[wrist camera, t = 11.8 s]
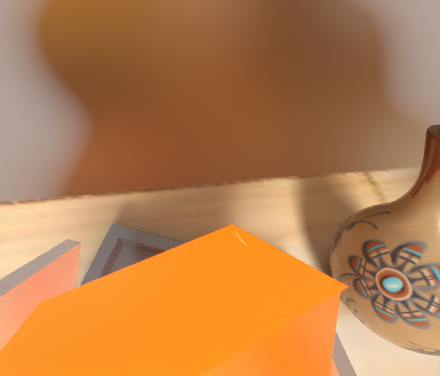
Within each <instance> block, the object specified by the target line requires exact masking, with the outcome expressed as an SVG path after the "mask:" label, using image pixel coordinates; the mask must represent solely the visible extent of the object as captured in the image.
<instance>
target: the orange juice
mask: <svg viewBox="0 0 440 376" xmlns="http://www.w3.org/2000/svg"><path fill="white" fill-rule="evenodd" d="M347 287H348V286H346V285H344V284H343V283H341V282H339V281H337V280H335V279H333V278H331V277H330V276H328V275H326V274H324V273H322V272H320V271H318V270H317V269H315V268H313V267H311V266H309V265H307V264H305V263H304V262H302V261H300V260H298V259H296V258H294V257H292V256H291V255H289V254H287V253H285V252H283V251H281V250H279V249H278V248H276V247H274V246H272V245H270V244H268V243H267V242H265V241H263V240H261V239H259V238H257V237H255V236H254V235H252V234H250V233H248V232H246V231H244V230H242V229H241V228H239V227H237V226H235V225H233V224H232V225H229V226H227V227H224V228H222V229H219V230H217V231H214V232H212V233H210V234H207V235H205V236H202V237H200V238H197V239H195V240H192V241H190V242H187V243H185V244H183V245H180V246H178V247H175V248H173V249H170V250H168V251H165V252H163V253H160V254H158V255H156V256H153V257H151V258H148V259H146V260H143V261H141V262H138V263H136V264H134V265H131V266H129V267H126V268H124V269H121V270H119V271H116V272H114V273H111V274H109V275H107V276H104V277H102V278H99V279H97V280H94V281H92V282H89V283H87V284H84V285H82V286H80V287H77V288H75V289H72V290H70V291H67V292H65V293H62V294H60V295H57V296H55V297H53V298H50V299H48V300H45V301H43V302H40V303H39V305H38V306H37V307H36V308H35V309H34V311H33V312H32V313H31V314H30V315H29V317H28V318H27V319H26V320H25V322H24V323H23V324H22V325H21V326H20V328H19V329H18V330H17V331H16V332H15V334H14V335H13V336H12V337H11V339H10V340H9V341H8V342H7V343H6V345H5V346H4V347H3V348H2V349H1V351H0V376H329V373H330V366H331V358H332V351H333V344H334V337H335V329H336V322H337V315H338V308H339V301H340V293H341V291H342V290H344V289H346V288H347Z"/></svg>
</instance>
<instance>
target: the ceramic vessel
mask: <svg viewBox="0 0 440 376" xmlns="http://www.w3.org/2000/svg"><path fill="white" fill-rule="evenodd" d="M330 268H331V273H332V277H333V279H335V280H337V281H339V282H341V283H343V284H344V285H346V286H348V287H347V288H346V289H344V290H342V291H341V293H340V296H341V298H342V299H343V301H344V302H345V304H346V305H347V307H348V308H349V309H350V310H351V312H352V313H353V314H354V315H355V316H356V317H357V318H358V319H359V320H360V321H361V322H362V323H363V324H364V325H365V326H367V327H368V328H369V329H370V330H372V331H373V332H374V333H376V334H377V335H379V336H380V337H382V338H384V339H385V340H387V341H389V342H391V343H393V344H395V345H397V346H400V347H402V348H405V349H408V350H411V351H414V352H418V353H422V354H427V355H435V356H440V125H433V126H430V127H429V128H428V129H427V133H426V142H425V150H424V157H423V163H422V167H421V170H420V173H419V176H418V178H417V180H416V182H415V184H414V185H413V187H412V188H411V189H410V190H409V191H408V192H407V193H406V194H405V195H404V196H402V197H401V198H399V199H397V200H396V201H393V202H391V203H385V204H379V205H374V206H370V207H367V208H365V209H362V210H360V211H358V212H356V213H355V214H353V215H352V216H350V217H349V218H348V219H347V220H346V221H345V222H344V223H343V224H342V225H341V226H340V228H339V229H338V231H337V232H336V234H335V236H334V238H333V241H332V245H331V250H330Z"/></svg>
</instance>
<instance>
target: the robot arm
mask: <svg viewBox="0 0 440 376" xmlns="http://www.w3.org/2000/svg"><path fill="white" fill-rule="evenodd" d="M80 245H81V243H80V242H76V241H73V240H69V239H67V240H66V241H64V242H62V243H61V244H59V245H57V246H56V247H54V248H52V249H51V250H49V251H47V252H46V253H44V254H42V255H41V256H39V257H37V258H36V259H34V260H32V261H31V262H29V263H27V264H26V265H24V266H22V267H21V268H19V269H17V270H16V271H14V272H12V273H11V274H9V275H7V276H6V277H4V278H2V279H1V280H0V351H1V349H2V348H3V347H4V346H5V345H6V343H7V342H8V341H9V340H10V339H11V337H12V336H13V335H14V334H15V332H16V331H17V330H18V329H19V328H20V326H21V325H22V324H23V323H24V322H25V320H26V319H27V318H28V317H29V315H30V314H31V313H32V312H33V311H34V309H35V308H36V307H37V306H38V305H39V303H40V302H43V301H45V300H48V299H50V298H53V297H55V296H57V295H60V294H62V293H65V292H67V291H70V290H71V289H72V288H73V287H74V286H75V285H76V284H77V277H78V266H79V256H80ZM329 376H356V374H355V372H354V369H353V367H352V365H351V363H350V361H349V359H348V357H347V354H346V352H345V350H344V348H343V346H342V344H341V342H340V340H339V337H338V335H337V333H336V331H335V337H334V344H333V351H332V358H331V366H330V373H329Z"/></svg>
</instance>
